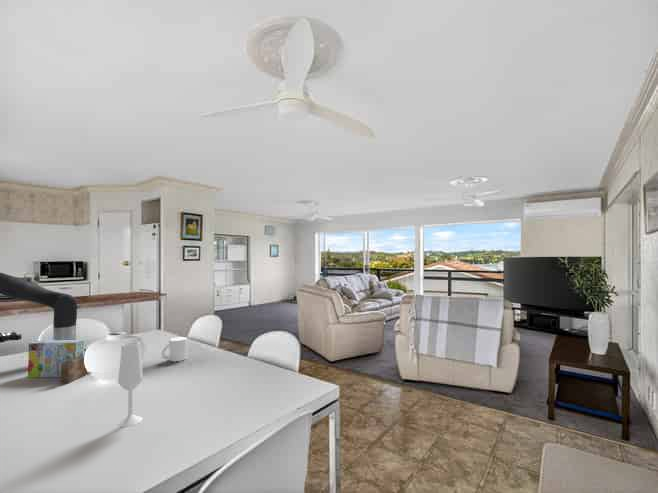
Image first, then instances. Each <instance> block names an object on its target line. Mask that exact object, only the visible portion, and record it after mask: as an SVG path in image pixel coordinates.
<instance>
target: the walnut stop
mask: <svg viewBox="0 0 658 493" xmlns="http://www.w3.org/2000/svg"><path fill="white" fill-rule="evenodd" d="M87 348H88V347H86V348H83V356H81V357H78V358H76V359H73V354H69V355H67V362H65V363H63V364H61V377H60V384H61V383H64V384H66V385H67V384H70V383H73V382H75V381H77V380H79V379H81V378H83V377H85V376H88V375H90V374H89V373H88V372H87V370H86V368H85V365H84V355H85V351H86V349H87Z"/></svg>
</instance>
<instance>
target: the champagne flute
mask: <svg viewBox="0 0 658 493" xmlns="http://www.w3.org/2000/svg"><path fill="white" fill-rule="evenodd" d="M141 354H142V353H141V345H140V342H139V341H132V342H130V341H129V342H125V343H122V345H121V352H120V361H119V362H120V363H119V370H118V379H117V383H118V384H119V386H120V387H121V388H123V389H124V390H126V391H127V392H128V394H127V395H128V400H127V401H128V403H127V405H128V408H127V411H128V412H127V413H128V414H127V416H126V417H124V418H123V419H122V420H120V421H119V422H118V423H117V426H118V427H122V428H125V427H131V426H132V427H133V426H134V425H137V424H139V423H141V422H142V421H143V417H141V416H138V415H136V414H133V411H134V410H133V408H134V407H133V404H134V403H133V401H134V399H133V398H134V397H133V396H134V395H133V394H134V389H136V388H137V387H138V386H139V384H141V382H142V381H143V375H144V374H143V364H142V356H141Z"/></svg>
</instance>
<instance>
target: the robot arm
mask: <svg viewBox="0 0 658 493" xmlns="http://www.w3.org/2000/svg"><path fill="white" fill-rule="evenodd" d="M0 295H3V296H5V297H9V298H13V299H16V300H18V301H25V302H30V303H35V304H36V303H37V304H41V305H43V306H46V307H49V308H52V309H53V322H52V324H53V326H52V327H53V331H52V332H53V333H52V334H53V336H52V337H53V338H52V340H78V339H77V320H78V301H77V299H76V298H75V297H74V295H71V294H67V293H62V292H59V291H54V290H50V289H47V288H44V287H43V286H40V285H38V284H36V283H33V282H31V281H28V280H26V279H22V278H20V277H16V276H13V275H10V274H6V273H3V272H0ZM22 339H23V336H22V334H21V333H19V334H17V332H15V331H11V332H0V344H1V343H6V342H11V341H20V340H22Z"/></svg>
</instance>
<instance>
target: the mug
mask: <svg viewBox="0 0 658 493" xmlns="http://www.w3.org/2000/svg"><path fill="white" fill-rule="evenodd" d="M166 350H168V354H169V355H166ZM161 356H162V358H163V359H164V360H169V362H171V361H173V362H172V363H177V362H176V361H179V362H183V361H185V359H186V360H187V359H188V338H187V337H186V336H185V337H184V336H178V337H172V338H170V339H169V340H168V343H167V344H166V345H165V346H164V348H163V350H162V351H161ZM182 360H183V361H182Z"/></svg>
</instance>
